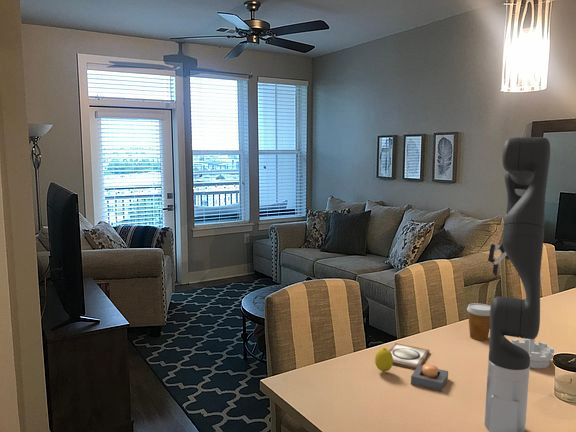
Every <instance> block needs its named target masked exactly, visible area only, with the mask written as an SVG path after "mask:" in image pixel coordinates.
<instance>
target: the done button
mask: <svg viewBox="0 0 576 432" xmlns="http://www.w3.org/2000/svg"><path fill="white" fill-rule="evenodd" d="M422 366H423V370H422V375H423V376H426V377H430V378H437V376H438V369H439V367H438V366H437V365H435V364H432V363H431V364H430V363H425V364H423V365H422Z"/></svg>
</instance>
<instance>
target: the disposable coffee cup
mask: <svg viewBox="0 0 576 432" xmlns="http://www.w3.org/2000/svg"><path fill="white" fill-rule="evenodd" d="M490 307H491V305H488V304H485V303H479V302H477V303H470V304H468V306H467V307H466V311H467V314H468V316H467V317H468V327H469V328H468V329H469V337H470V338H471V339H473V340H475V341H476V340H477V341H487V340H489V336H490Z"/></svg>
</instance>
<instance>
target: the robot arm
mask: <svg viewBox="0 0 576 432" xmlns="http://www.w3.org/2000/svg"><path fill="white" fill-rule="evenodd" d="M501 156H502V157H501V159H502V167H503V169H504V171H505V173H504V183H505V188H506V196H507V199H506V200H507V204H506V211H505V218H504V221H503V230H502V237H501V244H500V245H499V244H496V243H491V244H490V246H489V247H490V248H489V253H488V259H487V261H488V262H490V263H492V264H493V267H492V274H494V276H495V277H498V274H499V267H500V264H499V263H500V262H501V261H502V260H503V259H506V260H508V261H510V262H511V265H512V266H513V267H514V269H515V270H516V272H517V274H518V276H519V279H520V280H521V283H522V286H523V289H524V292H525V299H524V298H522V299H521V298H516V297H506V296H495V297H493V299H492V300H491V303H490V306H491V307H490V330H489V350H488V358H487V359H488V360H487V361H488V363H487V377H486V380H487V381H486V394H485V412H484V414H485V415H484V426H485V427H486V428H487V430H488V432H526V423H527V422H526V421H527V411H528V409H527V408H528V395H529V382H530V379H529V378H530V368H531V367H530V355H529V353H528V352H527V351H526V350H524V349H523V348H521V347H519V346H517V345H515V344H513V343H512V341H510V340H509V339H508V338H506V337H513V338H517V339H519V338H520V339H523V340H524V339H535V340H536V338H537V337H538V335H539V331H540V325H541V281H540V275H541V273H542V271H541V269H542V262H543V261H542V259H543V248H544V241H545V240H544V239H545V215H546V213H545V212H546V210H545V209H546V194H547V193H546V192H547V185H548V184H547V183H548V177H549V168H550V162H551V161H550V160H551V143H550V140H549V139H548V138H547V137H543V136H541V137H539V136H537V137H536V136H530V137H529V136H528V137H527V136H526V137H525V136H523V137H522V136H521V137H520V136H519V137H518V136H517V137H512V138H508V139H506V141H505V142H504V145H503V147H502V155H501ZM516 190H523V191H525V192H524V193H523V195H519V194H518V193H517V192H516ZM498 249H499V251H500V252H501V254H500V255H499V256H498V257H497V258H496V259H495V258H494V256H495V252H496V251H498Z"/></svg>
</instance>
